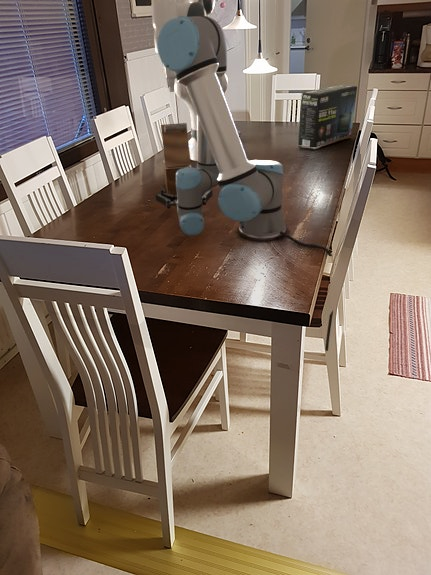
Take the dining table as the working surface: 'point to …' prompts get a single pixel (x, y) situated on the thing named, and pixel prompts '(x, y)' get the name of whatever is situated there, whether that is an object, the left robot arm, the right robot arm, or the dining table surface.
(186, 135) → the lid
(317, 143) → the router box
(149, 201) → the dining table surface
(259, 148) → the dining table surface
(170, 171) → the chest
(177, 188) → the right robot arm
